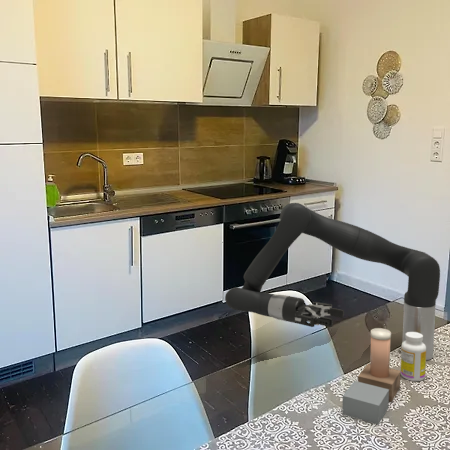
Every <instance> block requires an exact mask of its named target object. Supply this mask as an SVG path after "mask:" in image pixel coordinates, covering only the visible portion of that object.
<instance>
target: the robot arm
mask: <svg viewBox="0 0 450 450" xmlns="http://www.w3.org/2000/svg"><path fill="white" fill-rule="evenodd" d="M279 215H280V216H279V218H280V220H279V223H278V224H277V227H276V229H275V231H274V232H273V234H272V236H271V237H270V239H269V241H268V242H267V243H266V244H265V245H264V246H263V247H262V249H261V250H260V251H259V252H258V254H257V255H256V256H255V258H254V259H253V260H252V262H251V263H250V264H249V266H248V268H247V269H246V271H245V272H244V274H243V279H244V284H243V286H242V287H233V288H230V289H229V290H228V291H227V292H226V294H225V296H224V300H225V303H226V305H227V307H228V308H230V309H231V310H236V311H241V312H247V313H252V314H257V315H261V316H263V317H264V316H265V317H269V318H273V319H276V320H279V321H280V320H281V321H284V322H288V323H293V324H299V325H302V326H306V327H311V328H315V326H325V327H330V328H332V327H333V326H334V319H333V318H330V317H327V316H331V317H336V318H341V319H343V318H344V316H345V310H344V309H339V308H335V307H334V308H333V304H331V303H324V302H318V301H313V302H312V304H306V302H305V300H304V299H303V297H302V298H301V297H298V296H297V297H296V296H291V295H286V294H285V295H284V294H276V293H271V292H270V293H269V292H262V288H263V286H264V284H266V282H267V280H268V279H269V277H270V276H271V274H272V273H273V271H274V270H275V268H276V267H277V266H278V264H279V262H280V261H281V259H282V258H283V256H284V254H285V253H286V252H287V251H288V250H289V248H290V247H291V246H292V245H293V243H294V242H295V241H297V239H298V238H299V237H300V236H301V235H302V234H304V235H308V236H311V237H314V238H316V239H319V240H320V241H322V242H324V243H325V244H328V245H329V246H330V247H333V248H334V249H335V250H336V249H337V250H338V251H340V252H342V253H344V254H347V255H348V256H351V257H354V258H357V259H360V260H363V261H367V262H371V263H378V264H383V265H386V266H389V267H390V268H393V269H395V270H397V271H398V272H401V273H402V274H403V275H405V276H407V277H408V282H407V291H406V292H405V293H404V295H403V317H402V318H403V319H402V320H403V321H402V324H403V325H402V343H403V342H404V341H406V338H405V334H406V333H407V332H417V333H420V334H422V335H423V340H422V343H424V344H425V346H426V361H429V360H431V359H433V357H434V347H435V346H434V344H435V328H436V327H435V325H436V324H435V321H436V306H437V305H436V303H437V298H438V296H439V291H440V281H441V269H440V268H441V267H440V264H439V262H438V261H437V259H436V258H434V257H432V256H431V255H429V254H428V253H426V252H424V251H421V250H417V249H413V248H409V247H405V246H403V245H398V244H397V243H394V242H392V241H390V240H388V239H386V238H385V237H382V235H381V236H380V235H378V234H376V233H375V232H372V231H370V230H368V229H365V228H363V227H360V226H357V225H355V224H351V223H348V222H345V221H341V220H337V219H333V218H330V217H327V216H324V215H322V214H319V213H318V212H316V211H313V210H312V209H310V208H308V207H306V206H305V205H303V204H301V203H299V202H291V203H288V204H286V205H284V207H283V208H282V210H281V211H280V214H279Z"/></svg>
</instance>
